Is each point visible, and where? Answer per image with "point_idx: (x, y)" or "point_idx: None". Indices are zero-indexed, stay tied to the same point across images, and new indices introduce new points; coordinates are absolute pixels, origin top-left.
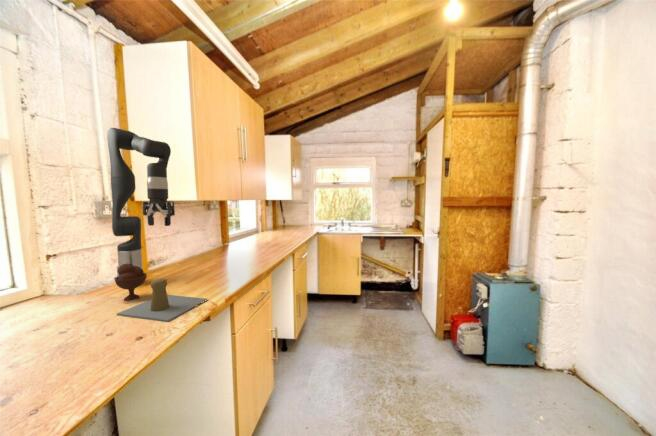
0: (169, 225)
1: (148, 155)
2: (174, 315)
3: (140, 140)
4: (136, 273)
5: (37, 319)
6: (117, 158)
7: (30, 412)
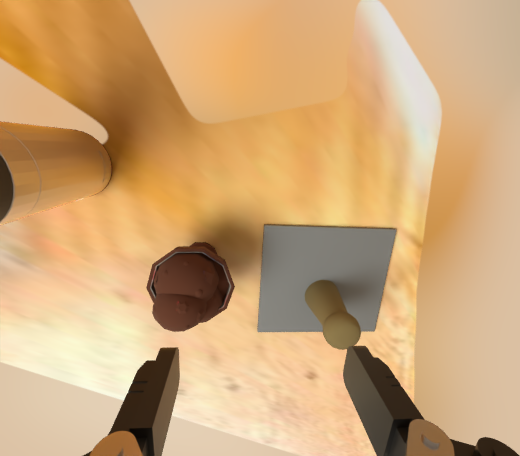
0: (363, 349)
1: None
2: (373, 314)
3: None
4: (213, 293)
5: (129, 371)
6: None
7: None
